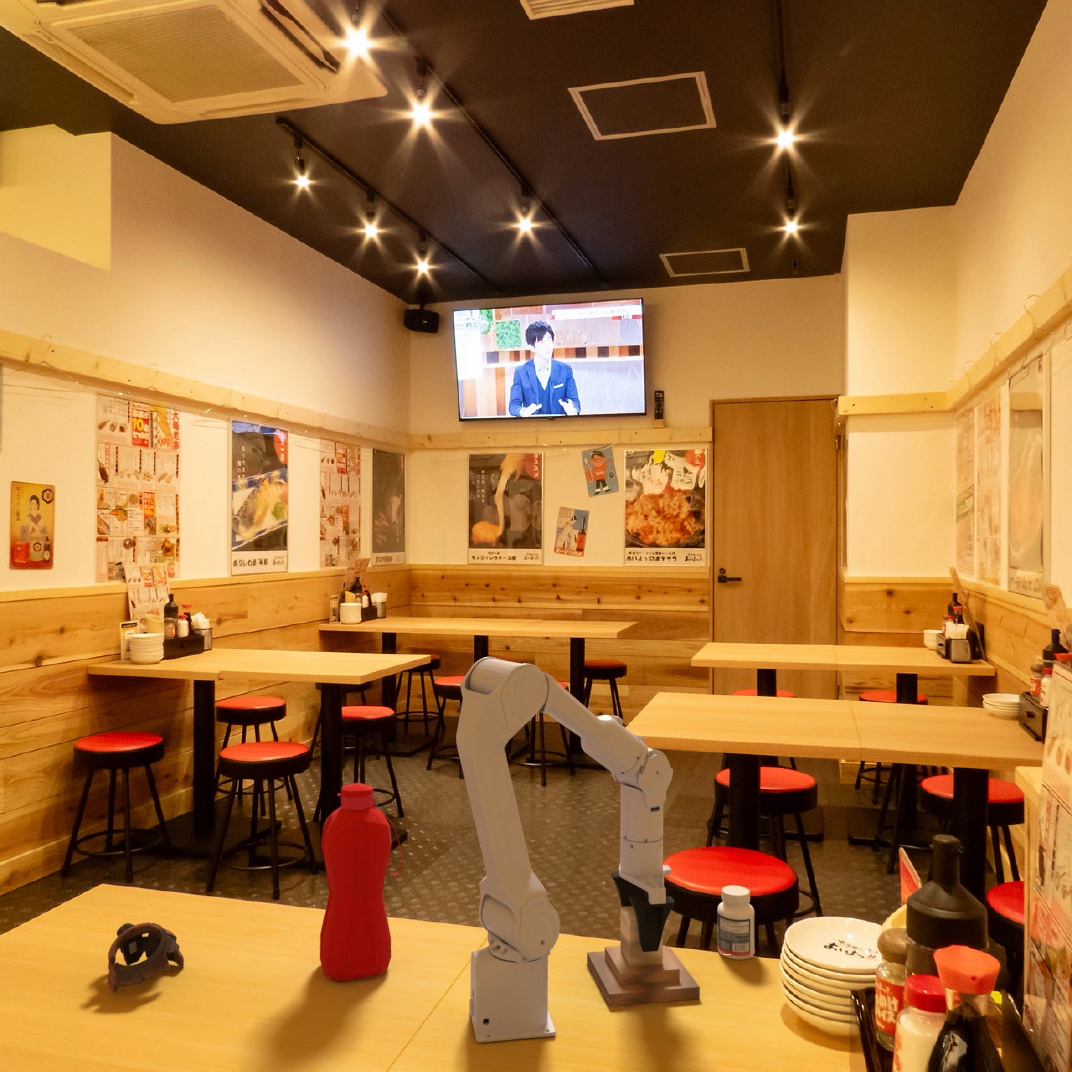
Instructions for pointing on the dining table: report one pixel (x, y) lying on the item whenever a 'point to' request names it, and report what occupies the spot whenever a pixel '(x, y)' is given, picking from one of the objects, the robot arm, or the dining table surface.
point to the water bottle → (356, 887)
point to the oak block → (636, 942)
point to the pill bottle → (736, 924)
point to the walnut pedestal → (641, 978)
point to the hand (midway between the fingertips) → (641, 938)
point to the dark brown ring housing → (133, 945)
